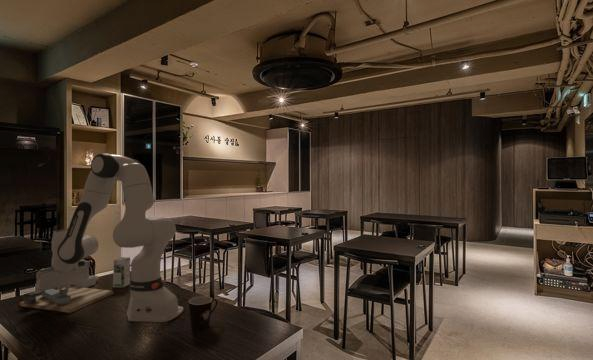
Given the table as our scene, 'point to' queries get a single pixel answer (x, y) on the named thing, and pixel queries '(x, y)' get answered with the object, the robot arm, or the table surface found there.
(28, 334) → the table surface
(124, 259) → the syrup box
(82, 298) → the pintle plate
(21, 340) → the table surface
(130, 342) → the table surface
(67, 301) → the link
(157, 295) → the robot arm
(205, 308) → the coffee mug
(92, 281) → the charger
